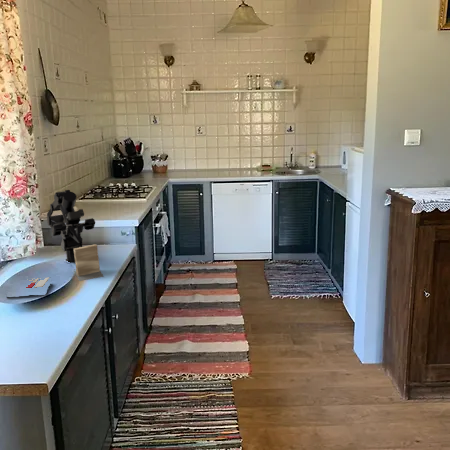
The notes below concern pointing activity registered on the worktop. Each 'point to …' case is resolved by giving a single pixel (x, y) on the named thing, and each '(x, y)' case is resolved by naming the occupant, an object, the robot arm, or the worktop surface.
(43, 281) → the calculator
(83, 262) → the birch tile
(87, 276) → the rubber mat
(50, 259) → the worktop surface
